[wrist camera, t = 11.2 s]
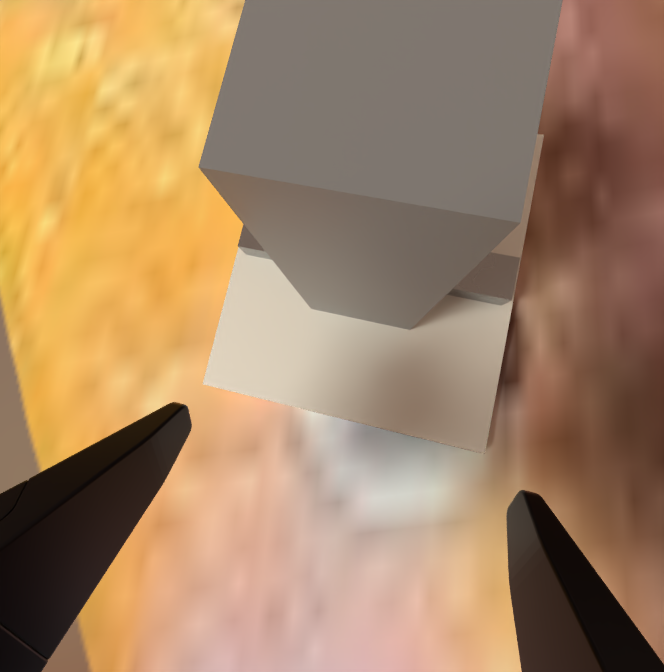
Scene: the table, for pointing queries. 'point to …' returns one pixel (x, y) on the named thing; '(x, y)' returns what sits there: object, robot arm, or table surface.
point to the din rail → (479, 284)
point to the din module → (380, 141)
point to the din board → (367, 354)
